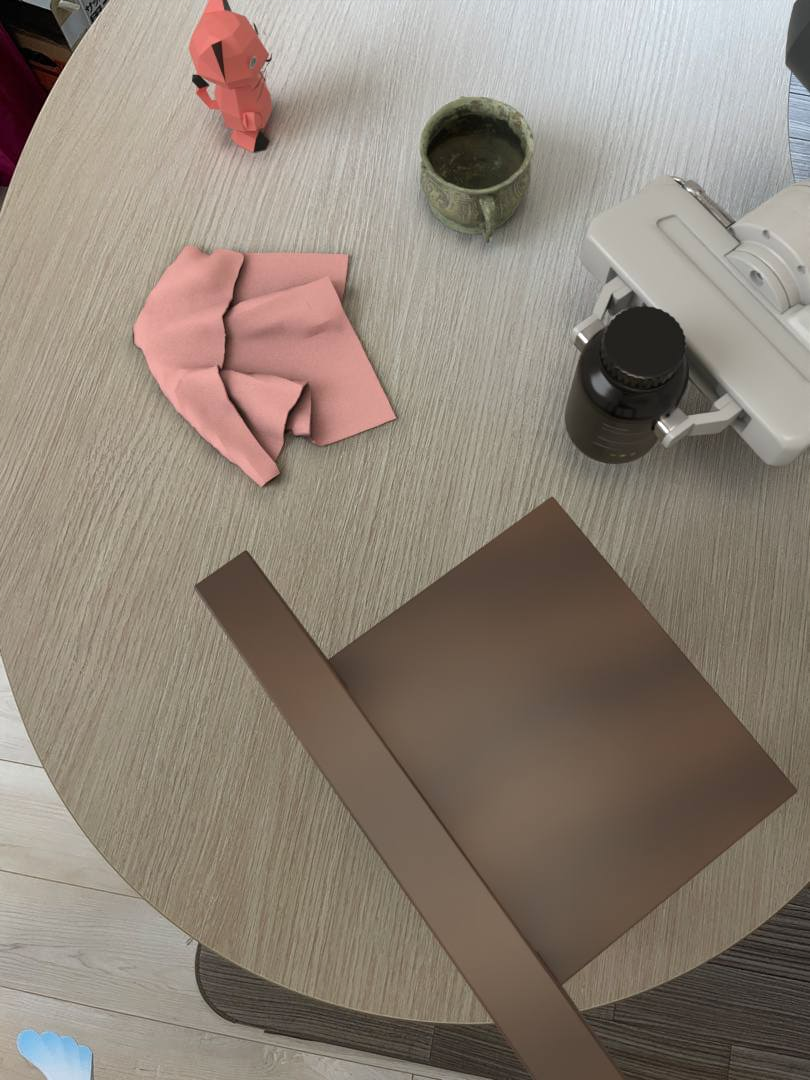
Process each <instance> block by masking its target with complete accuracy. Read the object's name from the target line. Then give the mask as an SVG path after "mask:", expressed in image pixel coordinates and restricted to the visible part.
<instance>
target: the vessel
mask: <svg viewBox="0 0 810 1080" xmlns="http://www.w3.org/2000/svg"><path fill="white" fill-rule="evenodd" d="M426 121H427V122H426V123H425V126H424V127H423V129H422V131H421V134H420V140H419V155H420V159H421V161H420V177H419V181H420V182H419V183H420V187H421V189H422V191H423V193H424V196H425V197H426V199H427V204H428V206H429V208H430V209H431V212H432V214H433V216H434V217H435V218H436V219H437V220H438V221H440V222H441V224H443V225H444V226H446V227H447V228H450V229H452V230H454V231H456V232H459V233H463V234H467V235H481V234H482V239H483V242H484V243H486V244H489V243H490V238H492V237H494V234H495V230H496V229H498V228H500V227H501V226H503V225H504V224H505V223H506V222H507V221H508V220H509V219H511V217H513V216H514V214H515V212H516V210H517V208H518V206H519V205H520V203H521V202H522V201H523V198H524V197H525V194H526V192H527V190H528V187H529V185H530V182H531V160H532V158H533V156H534V142H535V141H534V134H533V131H532V129H531V127H530V125H529V123H528V122H527V120H526V118H525V116H524V115H523V114H522V113H521V112H520V111H518V110H517V109H515V108H514V107H513V106H511V105H510V104H509V103H505V102H502V101H500V100H497V99H495V98H491V97H486V96H485V97H484V96H464V95H461V96H460V98H457V99H455V100H452V101H450V102H448V103H446V104H445V105H443V106H441V107H440V108H439V109H438V110H437V111H436V112H435V113H434V114H433V115H432V116H431V117H430V118H428V120H426Z"/></svg>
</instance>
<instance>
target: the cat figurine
mask: <svg viewBox="0 0 810 1080" xmlns="http://www.w3.org/2000/svg"><path fill="white" fill-rule="evenodd" d="M252 25H253V26H252ZM262 32H263V34H264V36H265V38H267V35H266V32H265V30H262ZM259 35H260V34H259V30H258V27H257V26H256V23H255V22H253V23H252V24H251V22H250V21H249V19H248V18H247V16H246V15H243V14H240V13H237V12H235V11H233V10H232V8H231V6H230V3H229V1H228V0H208V1H207V3H206V5H205V8H204V9H203V13H202V15H201V16H200V18H199V21H198V23H197V24H196V26H195V28H194V30H193V33H192V34H191V38H190V41H189V45H188V51H189V54H190V57H191V59H192V63H193V66H194V69H195V71H196V74H192V75H191V83H193V84H194V86H196V87H195V94H196V96H198V97H199V99H200V100H201V101H202V102H203V103H204V104H205V106H207V107H208V109H209V110H215V111H216V110H217V111H220V114H221V116H222V119H223V121H224V122H223V123H224V124H225V127H226V128H227V129H231V130H233V132H232V133H231V135H230V139H231V140H232V141H233V142H234V143H235V144H236V145H237V146H238V147H239V148H242V149H245V150H247V151H249V152H251V153H254V154H255V153H257V152H258V153H259V152H261V151H266V150H267V148H268V147H269V144H270V142H271V140H270V139H268V137H267V136H266V134H264V132H262V131H261V130H260V129H264V128H265V127H266V124H267V122H268V120H269V118H270V116H271V114H273V103H272V96H271V93H270V90H269V88H268V86H267V83H266V81H267V79H266V76H267V73H268V72H267V71H266V70H267V67H268V65H269V64H270V62H272V59H273V52H271V53H270V54H269V51H268V50H267V49H266V47H267V48H268V45H266V47H265V45H264V44H263V41H262V40H261V38H260V37H259ZM265 42H266V44H268V43H267V39H265ZM268 58H269V59H268ZM266 63H267V64H266ZM265 64H266V66H265ZM264 66H265V67H264ZM262 69H263V70H262ZM208 82H209V83H208ZM210 83H212V84H214V85H215V86H214V87H215V88H214V94H213V95H214V98H215V99H212V97H211V96H210V95H209V92H208V91H207V89H208V88H209V87H210V86H211V85H210Z"/></svg>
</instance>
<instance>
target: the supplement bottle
mask: <svg viewBox="0 0 810 1080" xmlns="http://www.w3.org/2000/svg"><path fill="white" fill-rule="evenodd" d="M685 338H686V337H685V335H684V334H683V329H682V328H681V327H680V324H679V323H678V322H677V321H676V320H675V318H674V317H672V316H670V315H669V313H667V312H664V311H663V310H661V309H656V308H655V307H648V306H643V307H640V306H637V307H635V308H629V309H628V310H624V309H623V310H622V311H620V312H619V313H617V314H616V315H614V318H612V319H611V320H610V321H609V324H607V325H605V327H603V328H602V329H600V330H599V331H597V332H596V333H595V334H594V335H593V336H592V337H591V338H590V339H589V340H588V341H587V343H586V344H585V346H584V348H583V350H582V352H580V354H579V357H578V360H577V364H576V367H575V371H574V375H573V378H572V382H571V385H570V389H569V393H568V396H567V400H566V404H565V409H564V424H565V430H566V432H567V433H566V434H567V435H568V437H569V439H570V441H571V443H572V444H573V445H574V446H575V448H577V450H578V451H579V452H580V453H582V454H583V455H585V456H586V457H587V458H589V459H591V460H592V461H596V462H598V463H601V464H608V465H623V464H628V463H631V462H635V461H637V460H639V459H641V458H643V457H644V456H645V455H647V454H648V453H649V452H650V451H651V450H652V449H653V448H654V447H655V445H656V444H657V442H658V441H659V439H658V438H657V437H656V436H655V435H654V433H653V432H652V430H653V429H654V426H655V424H656V423H657V422H658V421H660V420H661V419H663V418H665V417H667V416H669V414H670V413H671V412H672V411H673V410H674V409H676V408H677V407H679V404H680V402H681V400H682V399H683V396H684V395H685V392H686V390H687V387H688V384H689V364H688V360H687V356H686V354H685V353H686V351H685V348H686V342H685Z"/></svg>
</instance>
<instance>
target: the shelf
mask: <svg viewBox="0 0 810 1080" xmlns="http://www.w3.org/2000/svg"><path fill="white" fill-rule="evenodd" d="M193 588H194V590H195V592H196V594H197V595H198V596H199V597H200V599H201V601H202V602H203V604H204V605H205V606H206V608H207V609H208V611H209V612H210V614H211V615H212V617H213V618H214V619H215V621H216V622H217V624H218V625H219V627H220V628H221V630H222V631H223V632H224V634H225V635H226V637H227V639H228V640H229V641H230V642H231V644H232V645H233V647H234V648H235V650H236V651H237V653H238V654H239V656H240V657H241V659H242V660H243V661H244V663H245V664H246V666H247V667H248V669H249V670H250V671H251V673H252V675H253V676H254V677H255V679H256V680H257V682H258V683H259V685H260V686H261V687H262V689H263V690H264V692H265V693H266V695H267V696H268V698H269V699H270V701H271V702H272V703H273V705H274V707H276V710H278V712H279V714H280V716H282V718H283V719H284V721H285V722H286V724H287V725H288V727H289V728H290V730H291V731H292V733H293V734H294V735H295V737H296V739H298V741H299V743H300V744H301V745H302V747H303V749H305V751H306V752H307V753H306V754H308V756H309V757H310V758H311V760H312V762H313V763H314V764H315V766H316V767H317V768H318V770H319V772H320V773H321V774H322V776H323V778H324V779H325V780H326V781H327V784H328V785H329V787H331V789H332V791H333V792H334V793H335V795H336V796H337V798H338V799H339V801H340V802H341V803H342V805H343V806H344V808H345V809H346V810H347V812H348V814H349V815H350V816H351V818H352V819H353V821H354V822H355V824H356V825H357V827H358V828H359V829H360V830H361V832H362V834H363V835H364V837H365V838H366V840H367V841H368V842H369V844H370V845H371V847H372V848H373V849H374V851H375V852H376V854H377V855H378V857H379V858H380V860H381V861H382V863H383V864H384V866H385V867H386V868H387V870H388V872H389V873H390V874H391V876H392V877H393V879H394V880H395V882H396V883H397V885H398V886H399V888H400V889H401V890H402V892H403V893H404V895H405V896H406V897H407V899H408V900H409V901H410V903H411V905H412V906H413V908H414V909H415V911H416V912H417V913H418V915H419V916H420V918H421V920H422V921H423V922H424V923H425V925H426V927H427V928H428V930H429V931H430V932H431V933H432V935H433V936H434V938H435V940H436V941H437V942H438V944H439V945H440V947H441V948H442V949H443V951H444V953H445V954H446V955H447V957H448V958H449V959H450V962H452V964H453V966H454V967H455V969H456V970H457V971H458V973H459V974H460V975H461V977H462V979H463V980H464V982H465V983H466V984H467V986H468V987H469V989H470V990H471V991H472V993H473V995H474V996H475V997H476V999H477V1000H478V1002H479V1003H480V1004H481V1006H482V1008H483V1009H484V1010H485V1012H486V1014H487V1015H488V1016H489V1018H490V1019H491V1021H492V1022H493V1024H494V1025H495V1026H496V1028H497V1029H498V1030H499V1032H500V1034H501V1035H502V1036H503V1038H504V1039H505V1041H506V1042H507V1044H508V1045H509V1046H510V1048H511V1050H512V1051H513V1052H514V1054H515V1055H516V1057H517V1058H518V1060H519V1061H520V1063H521V1064H522V1065H523V1067H524V1069H525V1070H526V1072H528V1074H529V1076H530V1077H531V1079H532V1080H629V1079H628V1078H627V1076H626V1075H625V1073H624V1072H623V1071H622V1069H621V1068H620V1066H619V1065H618V1063H617V1062H616V1061H615V1059H614V1058H613V1056H612V1055H611V1053H610V1052H609V1050H608V1049H607V1047H606V1046H605V1045H604V1043H603V1042H602V1040H601V1039H600V1037H599V1036H598V1035H597V1034H596V1032H595V1030H594V1029H593V1027H592V1026H591V1025H590V1023H589V1022H588V1020H587V1019H586V1018H585V1016H584V1015H583V1013H582V1012H581V1010H580V1009H579V1007H578V1006H577V1005H576V1003H575V1001H574V1000H573V999H572V997H571V996H570V994H568V991H567V990H566V989H565V988H564V986H563V985H564V984H566V983H567V982H568V981H570V979H572V978H573V977H574V976H575V975H577V974H578V973H580V971H582V969H583V968H585V967H587V966H588V965H589V964H590V963H592V962H593V961H594V960H595V959H596V958H598V957H599V956H600V955H601V954H602V953H603V952H605V951H606V950H607V949H608V948H609V947H611V946H612V945H613V944H614V943H616V942H617V941H618V940H619V939H620V938H622V937H623V936H624V935H625V934H627V933H628V932H629V931H630V930H632V928H634V927H635V926H636V925H638V924H639V923H640V922H641V921H642V920H644V919H645V918H646V917H648V916H649V915H650V914H651V913H652V912H653V911H654V910H656V909H658V907H660V906H661V905H662V904H663V903H664V902H666V901H667V900H668V899H669V898H670V897H671V896H673V895H674V894H675V893H677V892H678V891H679V890H680V889H681V888H682V887H684V886H685V885H686V884H687V883H689V881H692V879H693V878H695V877H696V876H697V875H699V874H700V873H701V872H702V871H703V870H705V869H706V867H708V866H709V865H711V864H712V863H713V862H714V861H716V860H717V859H718V858H719V857H720V856H721V855H723V854H724V853H725V852H726V851H728V850H729V849H730V848H731V847H732V846H733V845H735V844H736V843H737V842H738V841H740V840H741V839H742V838H744V836H746V835H747V834H749V833H750V832H751V831H752V830H753V829H754V828H756V827H757V826H758V825H759V824H760V823H761V822H763V821H764V820H765V819H767V818H768V817H769V816H770V815H772V813H774V812H775V811H776V810H778V809H779V808H780V807H781V806H782V805H783V804H785V803H786V802H787V801H788V800H790V799H791V798H792V797H793V796H795V795H796V794H797V793H798V789H797V787H795V785H794V784H793V783H792V782H791V780H790V779H789V778H788V777H787V776H786V774H785V773H784V772H783V770H781V768H780V767H779V765H777V764H776V762H775V761H774V760H773V759H772V758H771V756H770V755H769V754H768V753H767V752H766V750H765V749H764V748H763V747H762V746H761V745H760V743H759V742H758V741H757V739H756V738H755V737H754V736H753V734H751V732H750V731H749V730H748V728H746V726H745V725H744V724H743V723H742V721H740V719H739V718H738V717H737V715H736V714H735V713H734V712H733V711H732V710H731V708H730V707H729V706H728V705H727V704H726V702H725V701H724V700H723V699H722V697H721V696H720V695H719V694H718V693H717V691H716V690H715V689H714V688H713V687H712V685H711V684H710V683H709V682H708V681H707V680H706V678H705V677H704V676H703V675H702V674H701V672H700V671H699V670H698V669H697V667H696V666H695V665H694V664H693V663H692V661H691V660H690V659H689V658H688V657H687V655H686V654H685V653H684V652H683V651H682V649H681V648H680V647H679V646H678V645H677V644H676V642H675V641H674V640H673V639H672V637H671V636H670V635H669V634H668V633H667V632H666V630H665V629H664V628H663V627H662V626H661V624H660V623H659V622H658V621H657V619H656V618H655V617H654V616H653V615H652V614H651V612H650V611H649V609H647V607H646V606H645V605H644V604H643V603H642V601H641V599H639V598H638V596H637V595H635V593H634V591H632V590H631V588H630V587H629V586H628V585H627V583H626V582H625V581H624V580H623V579H622V577H621V576H620V575H619V574H618V573H617V571H616V570H615V569H614V568H613V567H612V566H611V564H610V563H609V562H608V561H607V559H606V558H605V557H604V556H603V555H602V553H601V552H600V551H599V550H598V549H597V548H596V546H595V545H594V544H593V542H592V541H591V540H590V539H589V537H588V536H587V535H586V534H585V533H584V532H583V531H582V530H581V528H580V527H579V526H578V525H577V523H576V522H575V521H574V520H573V519H572V517H571V516H570V515H569V514H568V513H567V511H566V510H565V509H564V507H562V505H561V504H560V503H559V502H558V500H557V499H556V498H555V497H554V496H550V497H549V498H547V499H546V500H545V501H543V502H542V503H541V504H539V505H537V506H536V507H535V508H534V509H532V510H531V511H530V512H528V513H526V514H525V515H524V516H523V517H521V518H520V519H519V520H517V521H516V522H514V523H513V524H511V525H510V526H508V527H507V528H506V529H505V530H504V531H502V532H501V533H499V534H498V535H497V536H495V537H494V538H492V539H491V540H490V541H488V542H487V543H486V544H484V545H483V546H481V547H480V548H479V549H477V550H476V551H474V552H473V553H472V554H470V556H467V557H466V558H465V559H464V560H462V561H461V562H460V563H458V564H457V565H455V566H454V567H453V568H451V569H450V570H449V571H447V572H446V573H444V574H443V575H442V576H440V577H439V578H438V579H436V580H435V581H434V582H433V583H431V584H429V585H428V586H427V587H425V588H424V589H423V590H421V591H420V592H418V593H417V594H416V595H415V596H413V597H412V598H410V599H409V600H407V601H406V602H405V603H404V604H402V605H401V606H400V607H398V608H397V609H395V610H394V611H392V612H391V613H390V614H388V615H387V616H386V617H385V618H383V619H382V620H380V621H379V622H378V623H376V624H374V625H373V626H372V627H370V628H369V629H368V630H366V631H365V632H363V633H362V634H361V635H360V636H358V637H357V638H356V639H354V640H352V641H351V642H350V643H349V644H347V645H346V646H345V647H343V648H342V649H340V650H339V651H337V653H335V654H334V655H332V656H331V657H329V658H328V657H327V656H326V654H325V653H324V652H323V651H322V649H321V648H320V646H319V645H318V644H317V642H316V641H315V639H314V638H313V637H312V636H311V634H310V633H309V631H308V630H307V629H306V628H305V626H304V625H303V623H302V622H301V620H300V619H299V618H298V616H297V615H296V614H295V612H294V611H293V610H292V609H291V607H290V606H289V605H288V603H287V602H286V601H285V599H284V598H283V597H282V595H281V593H280V592H279V591H278V590H277V588H276V587H275V586H274V584H273V582H272V581H271V580H270V579H269V578H268V576H267V575H266V573H265V572H264V571H263V570H262V568H261V567H260V565H259V564H258V563H257V561H256V560H255V558H254V557H253V556H252V554H251V553H250V551H248V550H243V551H242V552H240V553H239V554H237V555H236V556H235V557H233V558H232V559H230V560H229V561H227V562H226V563H224V564H223V565H222V566H220V567H219V568H217V569H215V570H214V571H213V572H212V573H210V574H209V575H207V576H206V577H205V578H204V579H201V580H200V581H199V582H197V583H196V584H195V585H194V586H193Z"/></svg>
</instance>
